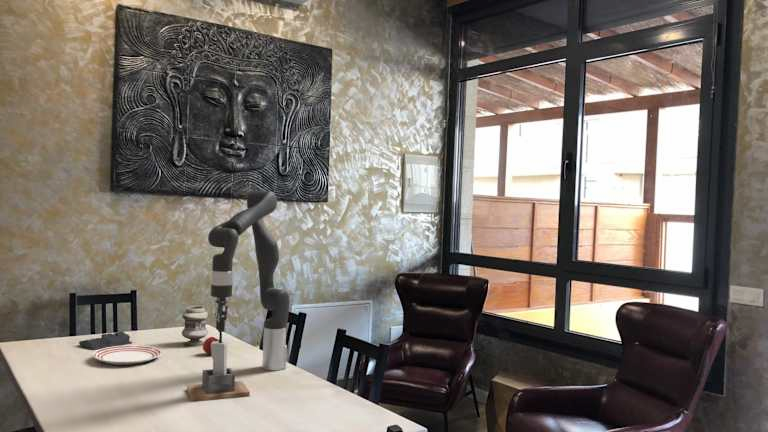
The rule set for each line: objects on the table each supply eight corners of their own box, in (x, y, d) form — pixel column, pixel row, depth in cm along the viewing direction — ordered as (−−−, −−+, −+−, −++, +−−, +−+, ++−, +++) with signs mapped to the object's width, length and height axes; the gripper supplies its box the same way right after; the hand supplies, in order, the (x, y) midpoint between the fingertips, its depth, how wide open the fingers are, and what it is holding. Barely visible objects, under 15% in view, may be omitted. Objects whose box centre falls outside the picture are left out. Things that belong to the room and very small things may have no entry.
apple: (218, 357, 268) (219, 339, 268) (200, 356, 268) (201, 338, 268) (223, 352, 276) (223, 335, 276) (205, 352, 276) (206, 334, 276)
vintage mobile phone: (212, 386, 221) (213, 318, 219) (226, 386, 221) (227, 318, 219) (209, 389, 217) (210, 320, 216) (223, 390, 217) (224, 321, 216)
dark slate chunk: (73, 346, 279) (74, 336, 279) (117, 338, 297) (118, 329, 297) (92, 352, 270) (92, 341, 270) (136, 343, 289) (136, 333, 288)
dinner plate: (172, 354, 271) (172, 346, 271) (142, 370, 244) (142, 362, 244) (114, 350, 274) (114, 343, 274) (78, 366, 246) (78, 357, 246)
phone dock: (242, 384, 229) (242, 365, 229) (249, 396, 216) (250, 375, 216) (186, 389, 221) (187, 369, 221) (191, 401, 208) (192, 379, 208)
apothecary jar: (176, 345, 286) (177, 307, 286) (191, 340, 298) (192, 304, 297) (198, 348, 283) (199, 309, 282) (212, 342, 294) (213, 306, 294)
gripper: (235, 285, 213) (234, 334, 213) (229, 280, 226) (227, 326, 226) (214, 286, 210) (212, 335, 210) (208, 280, 223) (206, 327, 223)
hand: (220, 330), depth 218 cm, fingers open, 3 cm apart
